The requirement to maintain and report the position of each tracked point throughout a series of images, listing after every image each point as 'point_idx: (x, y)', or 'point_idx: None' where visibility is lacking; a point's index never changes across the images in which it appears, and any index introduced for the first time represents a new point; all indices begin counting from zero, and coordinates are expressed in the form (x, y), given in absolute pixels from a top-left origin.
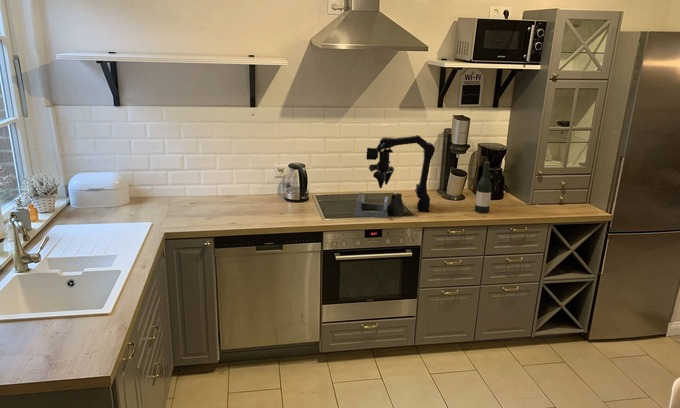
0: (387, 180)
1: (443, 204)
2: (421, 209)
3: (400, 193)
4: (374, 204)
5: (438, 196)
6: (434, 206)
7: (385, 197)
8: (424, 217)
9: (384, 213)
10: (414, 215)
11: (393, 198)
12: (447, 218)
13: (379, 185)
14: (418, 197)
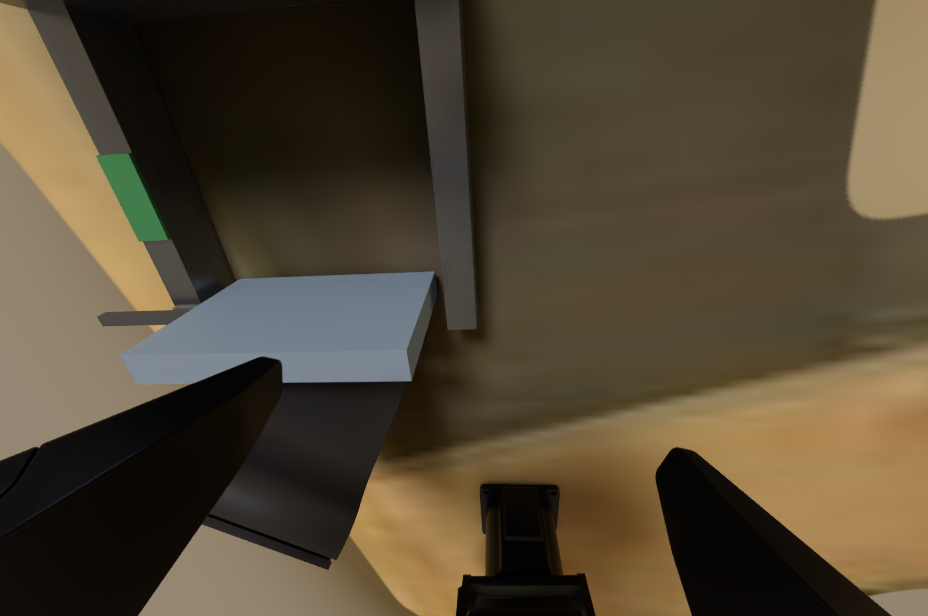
0: (711, 607)
1: (672, 586)
2: (489, 511)
3: (324, 568)
4: (431, 160)
5: (874, 580)
6: (622, 552)
7: (346, 354)
8: (374, 506)
9: (104, 320)
10: (389, 464)
11: (263, 458)
12: (405, 581)
13: (180, 401)
14: (476, 603)
